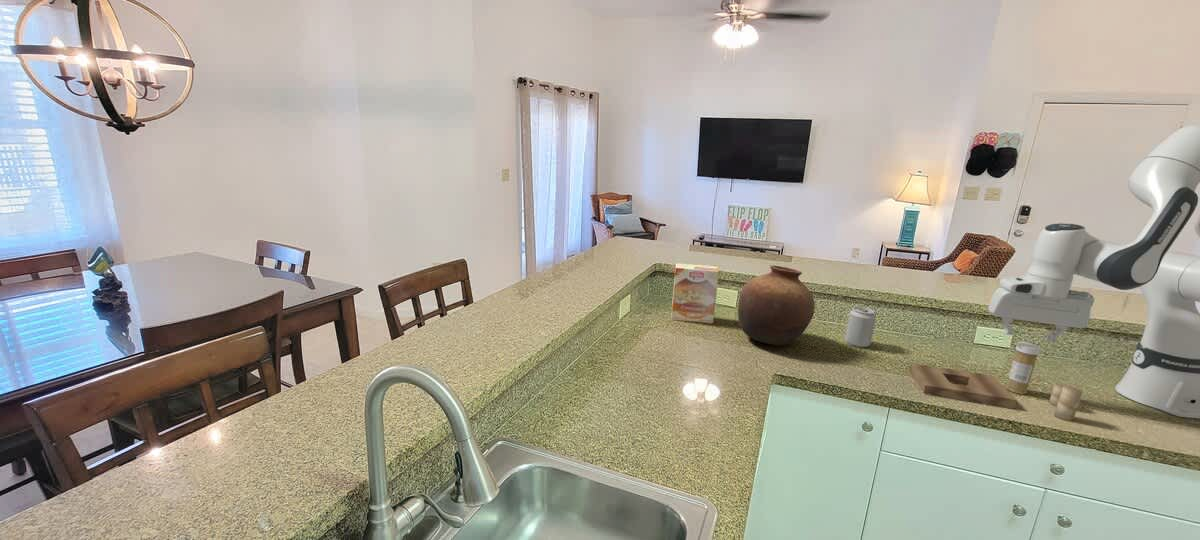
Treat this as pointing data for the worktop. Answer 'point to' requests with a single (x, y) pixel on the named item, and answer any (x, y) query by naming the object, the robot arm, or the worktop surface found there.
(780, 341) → the pottery
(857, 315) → the can
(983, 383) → the walnut board
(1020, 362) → the sprinkles bottle
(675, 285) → the coffeecake box
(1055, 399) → the short beech dowel
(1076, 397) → the medium beech dowel
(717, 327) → the worktop surface
